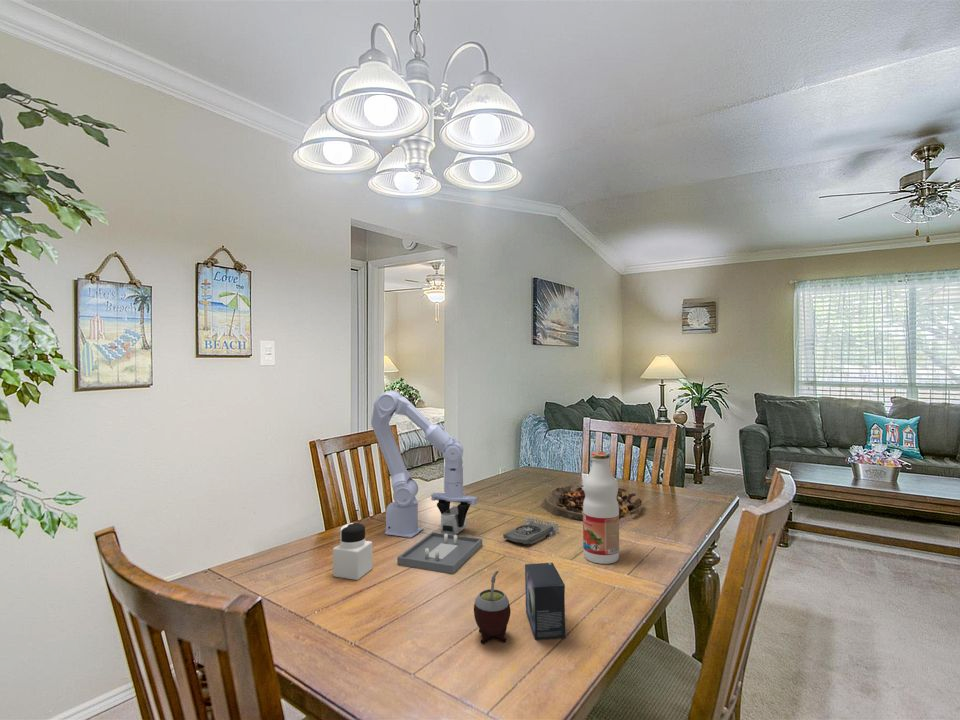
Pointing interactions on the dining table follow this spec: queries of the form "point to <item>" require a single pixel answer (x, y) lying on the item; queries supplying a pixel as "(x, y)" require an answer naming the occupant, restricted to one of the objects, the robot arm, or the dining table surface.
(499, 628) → the mate gourd
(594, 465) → the fruit juice
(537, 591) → the small box
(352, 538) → the medicine bottle
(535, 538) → the graphics card
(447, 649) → the dining table surface
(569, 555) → the dining table surface
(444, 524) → the block
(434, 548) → the tray
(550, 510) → the food dish
